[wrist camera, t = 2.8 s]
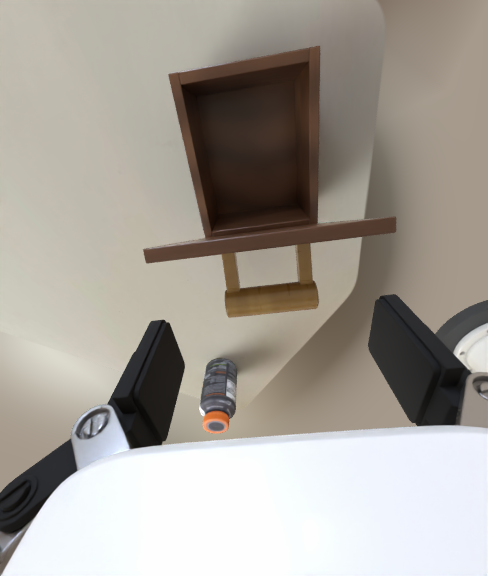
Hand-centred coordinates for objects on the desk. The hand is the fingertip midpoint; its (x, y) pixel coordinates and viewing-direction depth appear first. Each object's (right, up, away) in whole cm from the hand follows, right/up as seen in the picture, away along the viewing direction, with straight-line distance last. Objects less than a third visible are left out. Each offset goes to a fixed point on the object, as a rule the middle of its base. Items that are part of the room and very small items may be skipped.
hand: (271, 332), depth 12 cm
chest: (0, +18, +17) cm, 25 cm away
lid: (0, +6, +7) cm, 9 cm away
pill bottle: (-6, -13, +36) cm, 39 cm away
